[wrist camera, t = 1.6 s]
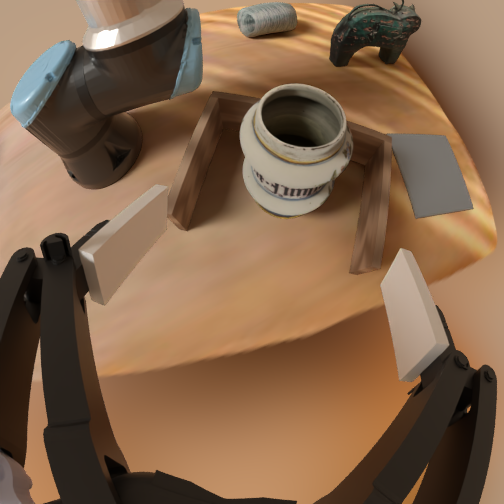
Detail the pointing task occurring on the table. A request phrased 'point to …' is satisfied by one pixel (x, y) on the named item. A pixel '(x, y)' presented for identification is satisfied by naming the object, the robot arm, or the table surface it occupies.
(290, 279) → the table surface
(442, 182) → the rubber mat
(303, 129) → the apothecary jar
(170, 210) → the walnut u-shaped frame
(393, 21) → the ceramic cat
